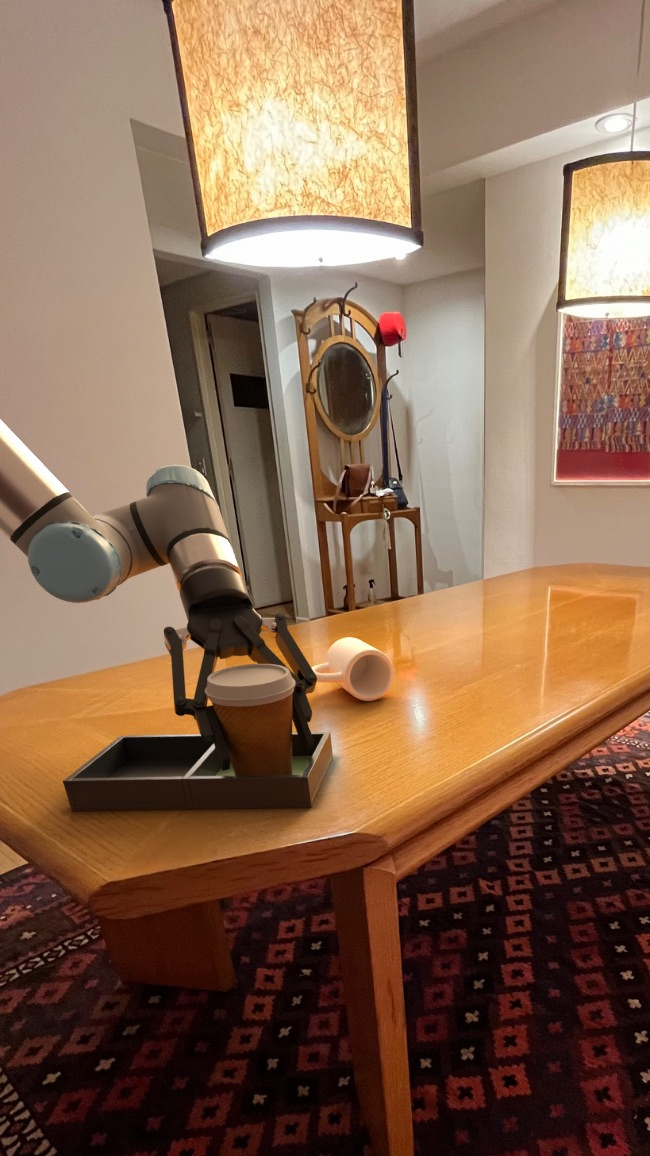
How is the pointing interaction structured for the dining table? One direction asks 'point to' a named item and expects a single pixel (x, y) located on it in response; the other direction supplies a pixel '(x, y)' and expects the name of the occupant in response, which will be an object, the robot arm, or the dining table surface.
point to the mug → (357, 669)
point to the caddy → (191, 777)
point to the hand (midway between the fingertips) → (268, 755)
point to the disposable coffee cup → (255, 716)
